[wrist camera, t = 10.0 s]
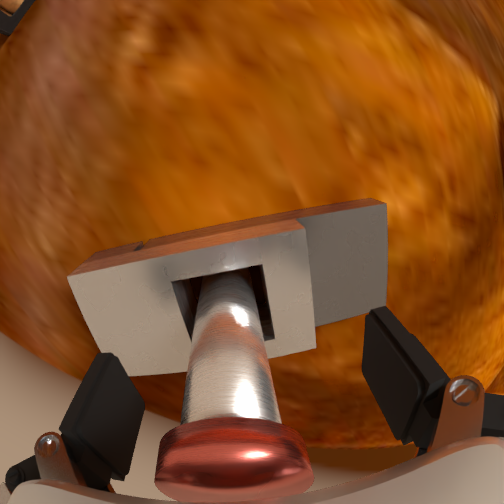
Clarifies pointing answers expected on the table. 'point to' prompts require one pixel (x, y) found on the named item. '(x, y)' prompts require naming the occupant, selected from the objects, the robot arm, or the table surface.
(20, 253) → the table surface
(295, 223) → the chain link
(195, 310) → the chain link
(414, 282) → the table surface
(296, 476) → the pin
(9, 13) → the ammunition clip
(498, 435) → the robot arm
